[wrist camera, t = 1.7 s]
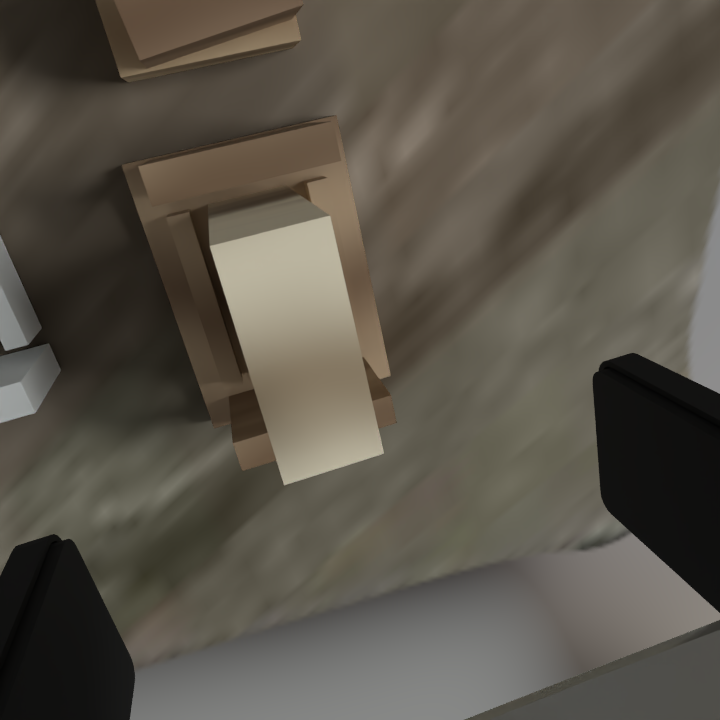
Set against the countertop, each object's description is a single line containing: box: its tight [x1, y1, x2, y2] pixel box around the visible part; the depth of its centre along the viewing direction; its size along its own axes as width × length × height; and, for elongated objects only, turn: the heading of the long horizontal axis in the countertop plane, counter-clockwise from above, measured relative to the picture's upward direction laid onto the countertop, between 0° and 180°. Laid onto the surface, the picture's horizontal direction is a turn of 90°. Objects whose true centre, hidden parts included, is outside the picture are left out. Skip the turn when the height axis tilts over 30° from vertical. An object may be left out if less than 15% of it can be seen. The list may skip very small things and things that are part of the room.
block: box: [208, 185, 384, 485], centre depth 20 cm, size 7×3×9 cm, turn 12°
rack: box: [121, 115, 397, 471], centre depth 23 cm, size 11×8×5 cm
